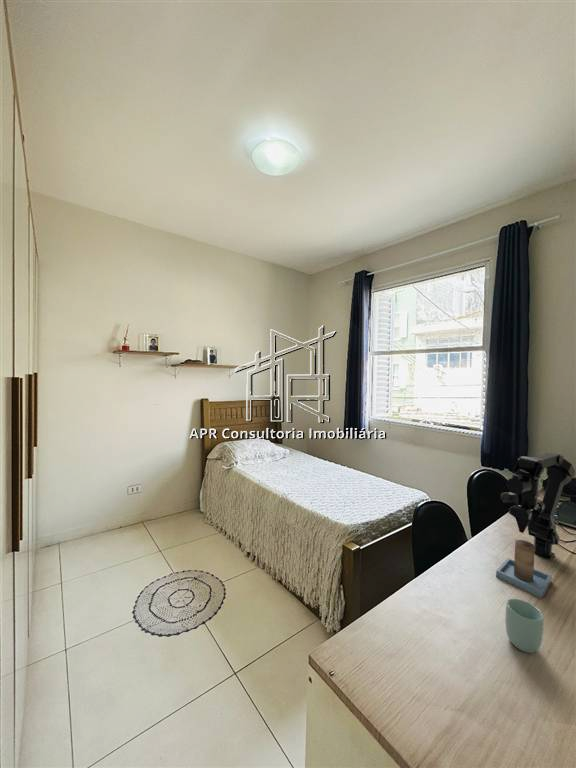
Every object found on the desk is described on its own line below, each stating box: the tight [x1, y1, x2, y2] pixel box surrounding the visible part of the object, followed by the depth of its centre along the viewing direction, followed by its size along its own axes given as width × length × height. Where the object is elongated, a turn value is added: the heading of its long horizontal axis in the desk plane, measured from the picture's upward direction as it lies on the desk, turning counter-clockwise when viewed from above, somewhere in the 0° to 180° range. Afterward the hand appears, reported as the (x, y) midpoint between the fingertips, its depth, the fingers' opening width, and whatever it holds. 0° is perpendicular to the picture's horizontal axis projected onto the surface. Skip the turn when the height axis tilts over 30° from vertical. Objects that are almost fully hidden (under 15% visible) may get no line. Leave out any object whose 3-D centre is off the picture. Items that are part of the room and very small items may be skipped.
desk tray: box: [495, 557, 553, 599], centre depth 109 cm, size 13×13×2 cm
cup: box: [505, 598, 545, 654], centre depth 81 cm, size 8×8×10 cm
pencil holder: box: [513, 539, 535, 582], centre depth 109 cm, size 6×6×12 cm
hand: (525, 529), depth 119 cm, fingers open, 9 cm apart
